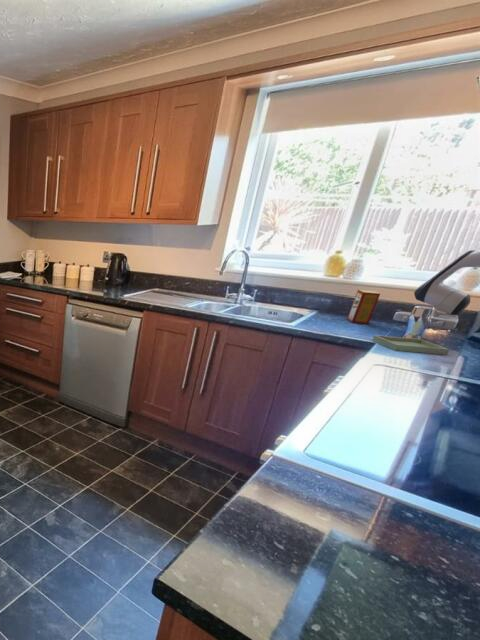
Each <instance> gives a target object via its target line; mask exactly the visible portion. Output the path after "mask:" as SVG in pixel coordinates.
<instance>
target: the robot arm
mask: <svg viewBox="0 0 480 640" xmlns="http://www.w3.org/2000/svg"><path fill="white" fill-rule="evenodd" d="M463 268H480V248H477V249H475V250H468V251H466V252H464V253H463V254H461V255H460V256H457V258H456V259H454V260H453V261H452V262H450V263H449V264H448V265H446V266H445V267H444V268H442V269H441V270H440V271H439V272H437V273H436V274H435V275H433V276H432V277H431V278H429V279H428V280H426V281H425V282H423V283H421V284H420V285H419V286H418V287H417V288H416V289H415V291H414V292H413V293H414V298H415V300H416V301H419V302H421V303H424V304H425V303H426V304H427V305H430V306H431V307H433V308H436V310H435V313H434V316H433V318H432V320H431V322H430V323H429V325H428V326H427V328H426V329H432V330H433V329H439V330H448V331H451V330H452V331H453V330H455V328H456V327H457V325H458V323H459V315H460V314H461V313H462V312H463V311H464V310H465V309H467V307H468V306H469V305H470V303H471V295H470V294H469V293H466V292H465V291H462V290H460V289H456V288H454V287H452V286H449V285H448V284H445V283H444V281H446V280H447V279H448V278H449V277H451V276H452V275H454V274H455V273H456V272H457V271H459V270H461V269H463ZM411 313H412V312H410V311H396V312H395V313H394V315H393V318H392V319H393V321H398V322H403V323H404V322H405V323H408V321H409V317H410V315H411ZM426 329H425V330H426Z"/></svg>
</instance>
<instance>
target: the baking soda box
mask: <svg viewBox="0 0 480 640" xmlns="http://www.w3.org/2000/svg"><path fill="white" fill-rule="evenodd" d="M380 295H381V293H380V292H377V291H374V290H365V289H357V291H356V294H355V297H354V299H353V302H352V304H351V307H350V310H349V312H348V314H347V317H346V320H348V321H349V322H350V323H353V324H362V325H369V324H370V320H371V318H372V316H373V313H374V311H375V308H376V305H377V303H378V300H379V298H380Z"/></svg>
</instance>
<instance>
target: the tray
mask: <svg viewBox="0 0 480 640" xmlns="http://www.w3.org/2000/svg"><path fill="white" fill-rule="evenodd" d="M372 337H373V338H372V341H373V342H375V343H377V344H380V345H382V346H384V347H387V348H389V349H391V350H393V351H400V352H409V353H411V352H412V353H421V354H432V355H444V356H445V355H447V356H448V353H449V351H450V349H449V348H446V347H444V346H441V345H438V344H436V343H434V342H431V341H429V340H426V339H423V338H421V339H414V338H402V337H403V336H401V337H400V336H391V335H390V336H389V335H388V336H387V335H378V334H377V335H376V334H373V336H372Z"/></svg>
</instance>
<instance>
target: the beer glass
mask: <svg viewBox="0 0 480 640" xmlns="http://www.w3.org/2000/svg"><path fill="white" fill-rule="evenodd" d="M433 307H434V306H427V305H426V306H425V305H415V306H414V307H413V309H412V311H411V312H410V313H411V315H410V317H409V321H408V322H407V328H406V330H405V332H404V334H403V336H401V337H402V338H414V339H422V337H423V333H424V332H425V330H426V328H427V326H428V325H429V323H430V322H431V320H432V318H433V316H434V313H435V310H436V308H433Z"/></svg>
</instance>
